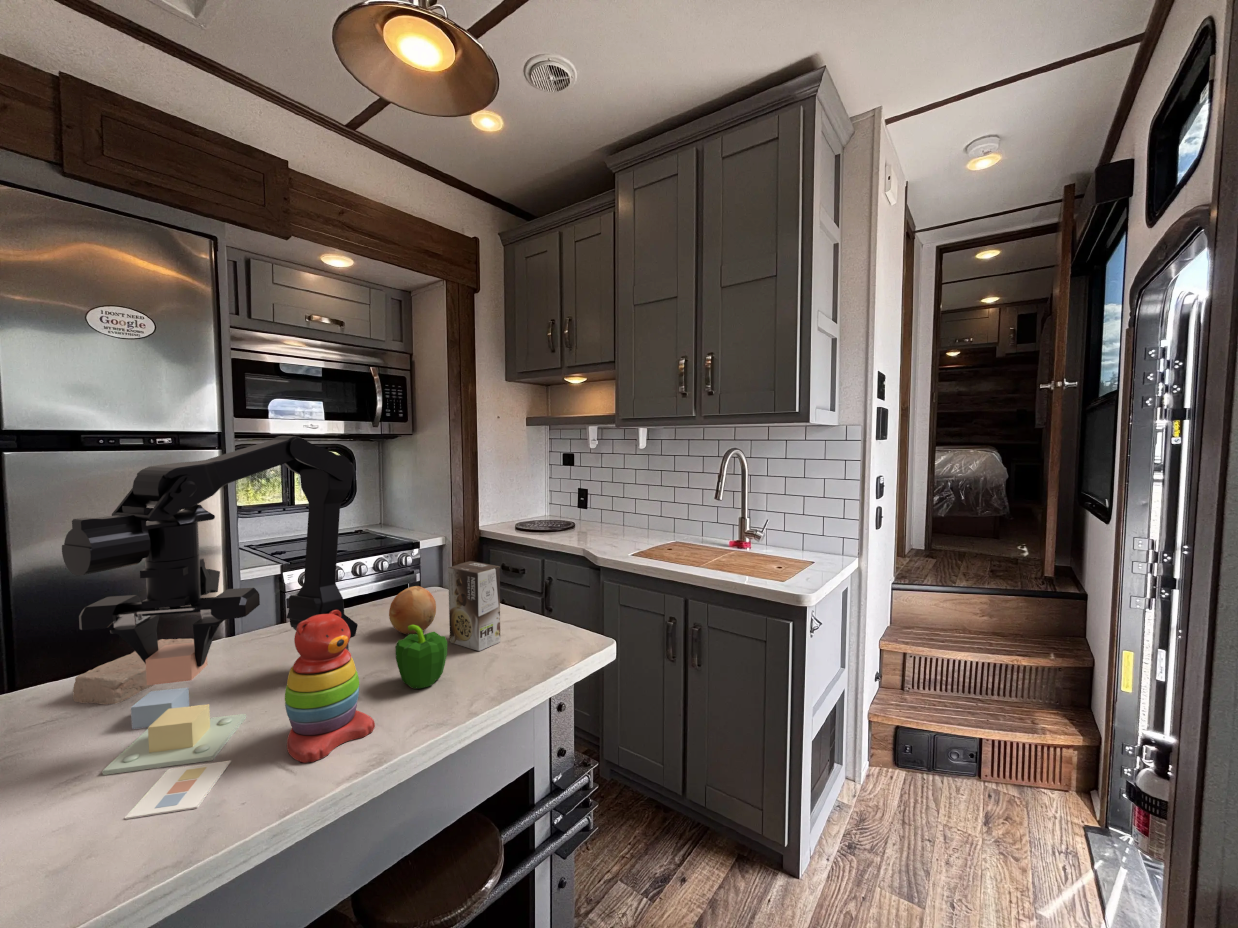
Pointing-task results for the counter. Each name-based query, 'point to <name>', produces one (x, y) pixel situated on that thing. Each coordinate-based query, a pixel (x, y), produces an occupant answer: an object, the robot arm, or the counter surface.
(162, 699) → the brick slate
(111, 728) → the counter surface
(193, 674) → the brick terracotta
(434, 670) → the bell pepper
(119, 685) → the brick
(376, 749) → the counter surface
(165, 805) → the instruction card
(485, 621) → the coffee box
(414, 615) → the onion
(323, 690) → the stacking bear
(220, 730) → the plate
